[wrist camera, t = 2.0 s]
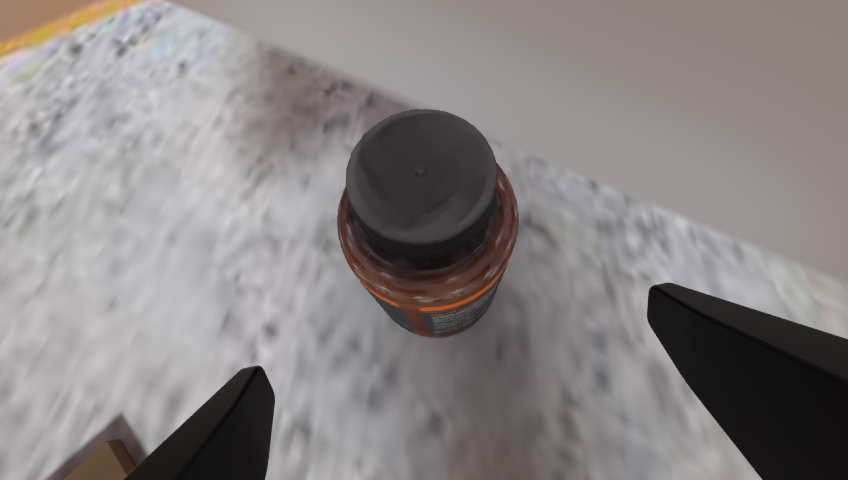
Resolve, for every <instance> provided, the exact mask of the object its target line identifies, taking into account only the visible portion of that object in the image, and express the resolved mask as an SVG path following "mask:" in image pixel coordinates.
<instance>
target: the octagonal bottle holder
mask: <svg viewBox="0 0 848 480" xmlns="http://www.w3.org/2000/svg"><path fill="white" fill-rule="evenodd" d="M135 468H136V465H135V463H134V462H133V460H132V459H131V457H130V455H129V454H128V452H127V450H126V449H125V447H124V445H123V444H122V442H121V440H120V439H118V440H112V441H106V442H105V443H104V444H103V445H102V446H101V447H100V448H98V449H97V450H96V451H95V452H94V453H93V454H92V455H90V456H89V457H88V458H87V459H86V460H85V461H84V462H82V463H81V464H80V465H79V466H78V467H77V468H76V469H74V470H73V471H72V472H71V473H70V474H69V475H68V476H66V477H65V478H64V479H63V480H123V479H124V478H125V477H126V476H127V475H129V474H130V473H131V472H132V471H133V470H134V469H135Z"/></svg>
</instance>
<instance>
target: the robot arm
mask: <svg viewBox="0 0 848 480" xmlns="http://www.w3.org/2000/svg"><path fill="white" fill-rule="evenodd" d="M647 318H648V322H649V325H650V326H651V328H652V330H653V331H654V333H655V334H656V336H657V338H658V339H659V341H660V342H661V344H662V345H663V347H664V349H665V350H666V352H667V353H668V355H669V357H670V358H671V360H672V361H673V363H674V364H675V366H676V368H677V369H678V371H679V372H680V374H681V375H682V377H683V378H684V380H685V381H686V383H687V384H688V385H689V387H690V388H691V389H692V391H693V392H694V393H695V395H696V396H697V397H698V398H699V400H700V401H701V402H702V403H703V405H704V406H705V407H706V409H707V410H708V411H709V412H710V414H711V415H712V416H713V417H714V419H715V420H716V421H717V423H718V424H719V425H720V426H721V428H722V429H723V430H724V431H725V433H726V434H727V435H728V437H729V438H730V439H731V440H732V442H733V443H734V444H735V445H736V447H737V448H738V449H739V450H740V452H741V453H742V454H743V456H744V457H745V458H746V459H747V461H748V462H749V463H750V464H751V466H752V467H753V468H754V470H755V471H756V472H757V473H758V475H759V476H760V477H761V478H762V480H848V339H845V338H842V337H839V336H836V335H833V334H830V333H827V332H823V331H820V330H817V329H814V328H811V327H808V326H805V325H801V324H798V323H795V322H792V321H789V320H786V319H783V318H779V317H776V316H773V315H770V314H767V313H764V312H761V311H757V310H754V309H751V308H748V307H745V306H742V305H739V304H735V303H732V302H729V301H726V300H723V299H720V298H717V297H714V296H710V295H707V294H704V293H701V292H698V291H695V290H692V289H688V288H685V287H682V286H679V285H676V284H673V283H663V284H659V285H654V286H652V287H651V288H650V290H649V296H648V309H647ZM274 405H275V395H274V391H273V389H272V387H271V384H270V382H269V380H268V378H267V376H266V373H265V371H264V369H263V368H262V367H261V366H253V367H248V368H243V369H241V370H240V371H239V372H238V373H237V374H236V375H235V376H233V377H232V378H231V379H230V380H229V381H228V382H227V383H226V384H225V385H224V386H223V387H222V388H221V389H220V390H218V391H217V392H216V393H215V394H214V395H213V396H212V397H211V398H210V399H209V400H208V401H207V402H206V403H205V404H203V405H202V406H201V407H200V408H199V409H198V410H197V411H196V412H195V413H194V414H193V415H192V416H191V417H190V418H189V419H187V420H186V421H185V422H184V423H183V424H182V425H181V426H180V427H179V428H178V429H177V430H176V431H175V432H174V433H172V434H171V435H170V436H169V437H168V438H167V439H166V440H165V441H164V442H163V443H162V444H161V445H160V446H159V447H157V448H156V449H155V450H154V451H153V452H152V453H151V454H150V455H149V456H148V457H147V458H146V459H145V460H144V461H142V462H141V463H140V464H139V465H138V466H137V467H136V468H135V469H134V470H133V471H132V472H131V473H130V474H129V475H127V476H126V477H125V478H124V479H123V480H265V477H266V472H267V466H268V459H269V450H270V441H271V432H272V423H273V414H274Z"/></svg>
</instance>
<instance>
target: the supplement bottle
mask: <svg viewBox="0 0 848 480" xmlns="http://www.w3.org/2000/svg"><path fill="white" fill-rule="evenodd" d="M337 224H338V236H339V240H340V243H341V248H342V251H343V253H344V255H345V258H346V260H347V262H348V264H349V266H350V268H351V269H352V271H353V272H354V274H355V275H356V276H357V277H358V279H359V280H360V282H361V283H362V284H363V286H364V287H365V288H366V289H367V290H368V291H369V292H370V294H371V295H372V296H373V297H374V298H375V300H376V301H377V302H378V303H379V304H380V305H381V307H382V308H383V309H384V310H385V312H386V313H387V314H388V315H389V316H390V317H391V318H392V319H393V320H394V321H395V322H396V323H397V324H399V325H400V326H401V327H403V328H405V329H407V330H408V331H410V332H412V333H415V334H418V335H421V336H426V337H433V338H441V337H447V336H451V335H455V334H458V333H460V332H462V331H464V330H466V329H468V328H469V327H471V326H472V325H473V324H475V323H476V322H477V321H478V320H479V319H480V318H481V317H482V316H483V315H484V313H485V312H486V310H487V309H488V307H489V306H490V304H491V302H492V300H493V297H494V295H495V293H496V290H497V287H498V285H499V283H500V281H501V278H502V276H503V274H504V271H505V269H506V267H507V264H508V261H509V259H510V256H511V254H512V251H513V248H514V245H515V242H516V237H517V231H518V207H517V202H516V198H515V195H514V192H513V189H512V186H511V184H510V182H509V180H508V178H507V177H506V174H505V173H504V172H503V170H502V169H501V168H500V166H499V165H498V164H497V163H496V160H495V157H494V154H493V151H492V149H491V147H490V145H489V144H488V142H487V140H486V139H485V137H484V136H483V135H482V134H481V133H480V132H479V131H478V130H477V129H476V128H475V127H474V126H473V125H471V124H470V123H468V122H467V121H466V120H464V119H462V118H460V117H457V116H455V115H453V114H450V113H448V112H444V111H438V110H427V109H425V110H419V109H416V110H410V111H406V112H401V113H399V114H395V115H391V116H390V117H388V118H386V119H384V120H383V121H381V122H379V123H378V124H377V125H375V126H374V127H373V128H371V129H370V130H369V131H368V132H367V133H365V134H364V135H363V137H362V139H361V140H360V141H359V142H358V144H357V145H356V146H355V148H354V150H353V152H352V153H351V157H350V160H349V162H348V166H347V171H346V187H345V189H344V192H343V195H342V197H341V200H340V204H339V208H338V216H337Z"/></svg>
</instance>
